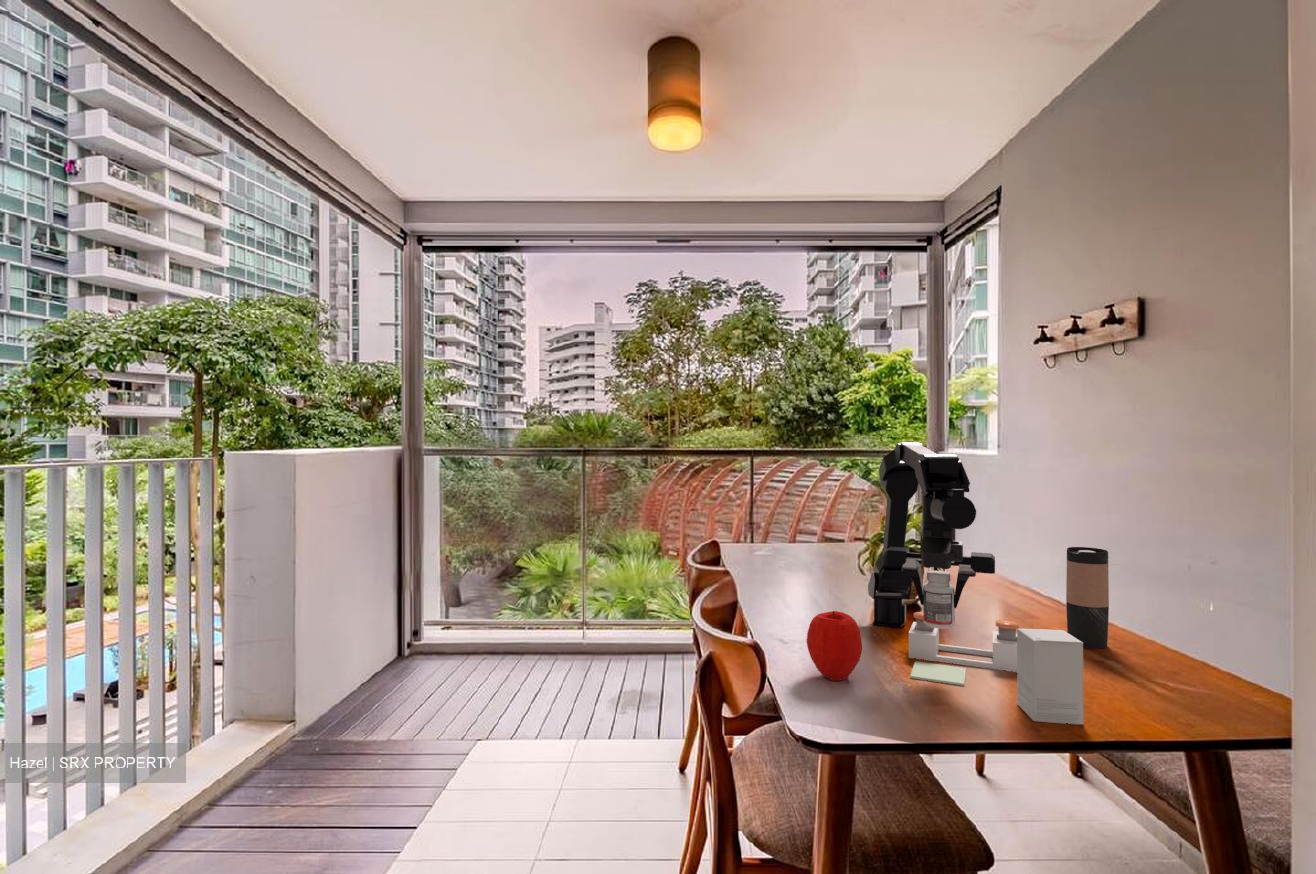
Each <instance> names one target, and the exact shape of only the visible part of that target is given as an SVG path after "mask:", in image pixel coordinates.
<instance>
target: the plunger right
mask: <svg viewBox="0 0 1316 874" xmlns="http://www.w3.org/2000/svg"><path fill="white" fill-rule="evenodd" d="M995 626H996V627H998V631H999V640H1007V641H1015V642H1016V633H1017V629H1020V624H1019V623H1018V622H1016V621H1011V620H996V621H995Z"/></svg>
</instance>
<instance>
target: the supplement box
mask: <svg viewBox="0 0 1316 874" xmlns="http://www.w3.org/2000/svg"><path fill="white" fill-rule="evenodd" d="M1016 633H1017V672H1016V673H1017V674H1016V676H1017V678H1016V679H1017V680H1016V681H1017V691H1016V693H1017V694H1016V695H1017V699H1016V700H1017V701H1016V703H1017V706H1019V707H1020V708H1021V709H1022V710H1023V712H1025V714H1026V715H1027V716H1028V717H1029V718H1030V719H1031V720H1032V721H1033V722H1040V723H1051V724H1052V723H1053V724H1066V723H1068V724H1069V725H1083V724H1084V647H1083V642H1081V641H1080V640H1078V639H1076V638H1075V637H1073V636H1072V635H1070V634H1069V633H1067V631H1066V630H1064V629H1048V628H1046V629H1045V628H1044V629H1043V628H1018V629H1016ZM1068 724H1067V725H1068Z"/></svg>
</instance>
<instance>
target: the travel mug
mask: <svg viewBox="0 0 1316 874" xmlns="http://www.w3.org/2000/svg"><path fill="white" fill-rule="evenodd" d="M1109 577H1110V576H1109V550H1108V549H1107V550H1106V549H1104V548H1097V547H1087V546H1086V547H1085V546H1071V547H1070V546H1069V547H1067V548H1066V586H1065V587H1066V588H1065V591H1066V592H1065V594H1066V598H1065V600H1066V601H1065V602H1066V603H1065V605H1066V628H1067V631H1066V632H1067V633H1069V634H1070V635H1072V636H1073V637H1075V638H1076V639H1078V640H1080V641H1081V642H1083V649H1093V650H1102V649H1107V648H1108V638H1109V616H1110V615H1109V613H1110V611H1109V610H1110V607H1109V606H1110V598H1109V597H1110V594H1109V593H1110V591H1109V589H1110V587H1109V582H1110V581H1109Z"/></svg>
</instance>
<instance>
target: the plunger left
mask: <svg viewBox="0 0 1316 874" xmlns="http://www.w3.org/2000/svg"><path fill="white" fill-rule="evenodd" d="M913 618H915V619H916V620H915V622H916V630H921V631H929V632H932V627H929V626H927V625H925V624H924V621H923V611H916V612H914V613H913Z"/></svg>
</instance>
